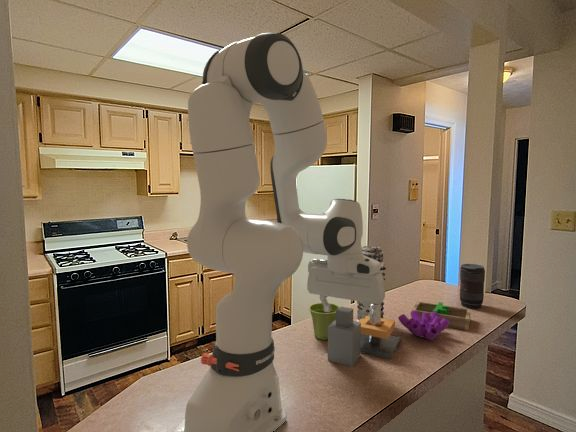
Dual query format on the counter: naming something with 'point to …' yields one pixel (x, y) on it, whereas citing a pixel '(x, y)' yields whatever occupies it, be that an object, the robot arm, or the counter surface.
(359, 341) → the grey stepped block
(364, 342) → the pipe stand
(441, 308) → the green branched piece
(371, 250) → the decorative candle
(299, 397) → the counter surface
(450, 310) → the open wooden box
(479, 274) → the camera lens
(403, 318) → the purple tube coral
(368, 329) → the collar
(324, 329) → the plant pot
